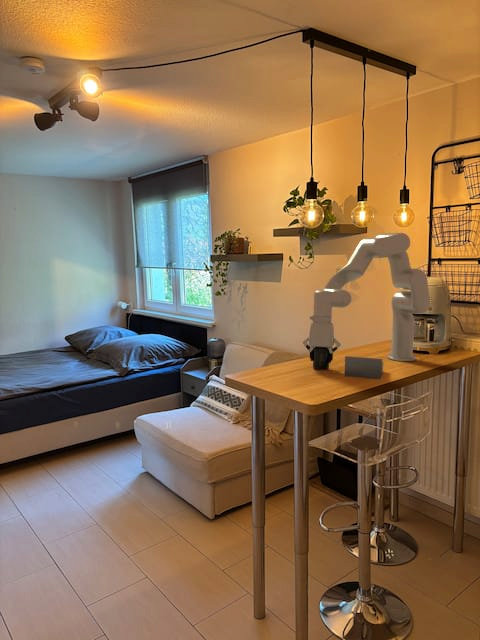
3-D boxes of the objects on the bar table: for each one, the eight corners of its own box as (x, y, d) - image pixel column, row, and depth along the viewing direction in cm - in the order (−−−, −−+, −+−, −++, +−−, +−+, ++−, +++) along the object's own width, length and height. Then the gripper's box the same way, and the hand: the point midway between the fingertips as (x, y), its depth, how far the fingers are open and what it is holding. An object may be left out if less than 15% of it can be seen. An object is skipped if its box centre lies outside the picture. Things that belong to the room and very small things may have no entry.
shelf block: (348, 368, 198) (349, 349, 197) (382, 371, 193) (383, 352, 192) (344, 376, 185) (345, 356, 184) (380, 379, 180) (382, 359, 179)
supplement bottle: (330, 367, 199) (331, 340, 197) (326, 371, 193) (327, 342, 191) (315, 366, 202) (315, 338, 200) (310, 369, 196) (311, 341, 194)
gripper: (299, 319, 194) (298, 361, 196) (342, 322, 188) (340, 365, 190) (303, 317, 201) (302, 357, 203) (344, 319, 195) (342, 361, 197)
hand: (321, 361), depth 197 cm, fingers closed on supplement bottle, 6 cm apart
